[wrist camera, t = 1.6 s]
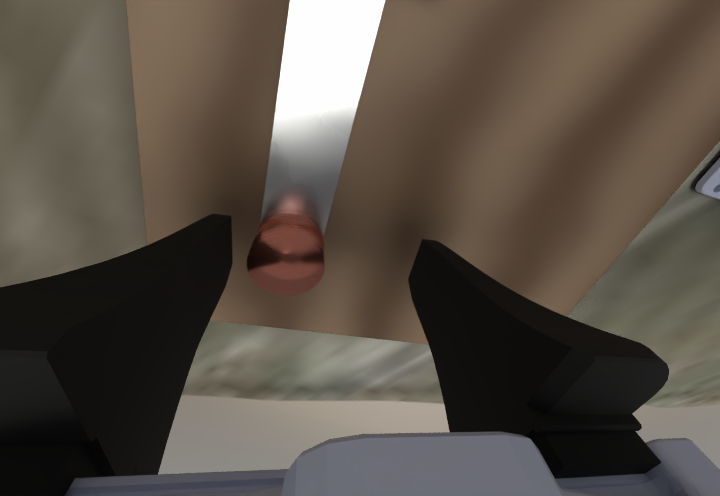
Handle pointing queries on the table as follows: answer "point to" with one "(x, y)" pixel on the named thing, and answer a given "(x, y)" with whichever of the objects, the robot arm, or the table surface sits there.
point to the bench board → (434, 142)
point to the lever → (310, 137)
